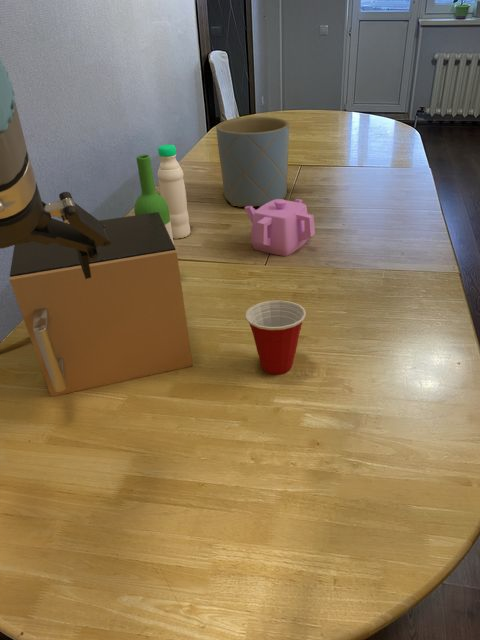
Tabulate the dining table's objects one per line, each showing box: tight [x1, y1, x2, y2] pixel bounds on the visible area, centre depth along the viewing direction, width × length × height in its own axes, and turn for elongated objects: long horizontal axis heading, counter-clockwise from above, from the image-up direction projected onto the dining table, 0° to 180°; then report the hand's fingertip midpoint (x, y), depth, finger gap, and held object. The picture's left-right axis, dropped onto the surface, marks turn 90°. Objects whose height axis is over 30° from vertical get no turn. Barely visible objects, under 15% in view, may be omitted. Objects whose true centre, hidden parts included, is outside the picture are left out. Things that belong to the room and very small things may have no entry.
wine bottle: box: [134, 154, 175, 245], centre depth 119 cm, size 8×8×30 cm
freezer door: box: [9, 250, 194, 398], centre depth 87 cm, size 8×26×24 cm, turn 108°
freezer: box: [9, 212, 177, 278], centre depth 97 cm, size 18×26×24 cm
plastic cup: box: [245, 299, 307, 376], centre depth 95 cm, size 11×11×12 cm
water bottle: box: [157, 143, 191, 240], centre depth 144 cm, size 7×7×25 cm
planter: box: [215, 116, 290, 208], centre depth 168 cm, size 23×23×24 cm
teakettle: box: [244, 198, 316, 257], centre depth 140 cm, size 17×17×12 cm
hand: (32, 282), depth 67 cm, fingers open, 13 cm apart
